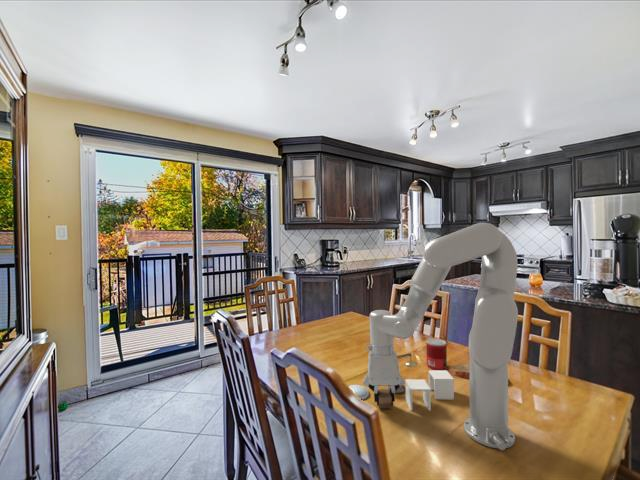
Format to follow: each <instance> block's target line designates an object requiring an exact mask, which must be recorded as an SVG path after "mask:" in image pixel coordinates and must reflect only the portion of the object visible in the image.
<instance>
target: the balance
mask: <svg viewBox="0 0 640 480" xmlns="http://www.w3.org/2000/svg"><path fill="white" fill-rule="evenodd" d="M397 357H398V359H400V358H406V357H410V358H412V353H405V354H400V355H397ZM404 365H405V366H406V367H408V368H417V366H418V362H417V361H414V360H405V361H404ZM387 387H388V388H387V389H390V386H387ZM404 393H406V385H405V384H403V385H402V386H400V387H399V388H398V389H397V390H396V392H395V393H394V394H398V395H400V394H404Z"/></svg>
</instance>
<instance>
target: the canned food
mask: <svg viewBox="0 0 640 480" xmlns="http://www.w3.org/2000/svg"><path fill="white" fill-rule="evenodd" d="M447 358H448V357H447V342H446V341H445V340H443V339H440V338H434V337H433V338H427V339H426V365H427V367H428V368H429V369H431V370H446V369H447V367H448V366H447V365H448V364H447V363H448V362H447Z"/></svg>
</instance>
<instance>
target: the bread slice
mask: <svg viewBox="0 0 640 480" xmlns="http://www.w3.org/2000/svg"><path fill="white" fill-rule="evenodd" d="M447 371H448V372H449V374H450V375H451V376H452V377H456V378H457V377H458V378H461V379H466V380H469V376H470V370H469V364H468V365H467V364H457V365H451V366H449V367H448V368H447ZM510 383H511V382H510V380H509V379H508V385H509V384H510Z"/></svg>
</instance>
